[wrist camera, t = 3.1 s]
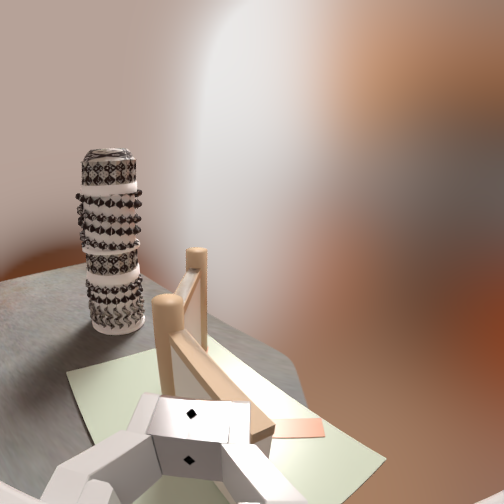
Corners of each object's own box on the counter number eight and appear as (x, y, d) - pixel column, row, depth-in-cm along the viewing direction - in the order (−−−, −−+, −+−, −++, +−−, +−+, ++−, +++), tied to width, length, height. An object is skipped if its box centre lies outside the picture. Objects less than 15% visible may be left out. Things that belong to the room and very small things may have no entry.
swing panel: (179, 433, 25) (168, 333, 22) (193, 429, 26) (186, 329, 23) (243, 522, 17) (252, 434, 14) (260, 514, 18) (275, 424, 14)
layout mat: (66, 374, 32) (65, 371, 31) (205, 335, 44) (205, 332, 44) (198, 598, 10) (197, 597, 10) (385, 461, 23) (386, 457, 23)
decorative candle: (150, 334, 43) (143, 147, 36) (86, 338, 40) (69, 150, 33) (146, 306, 51) (142, 148, 44) (92, 309, 48) (81, 151, 41)
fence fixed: (190, 345, 41) (188, 246, 37) (208, 347, 41) (208, 247, 37) (164, 431, 26) (147, 305, 22) (189, 434, 26) (179, 308, 22)
